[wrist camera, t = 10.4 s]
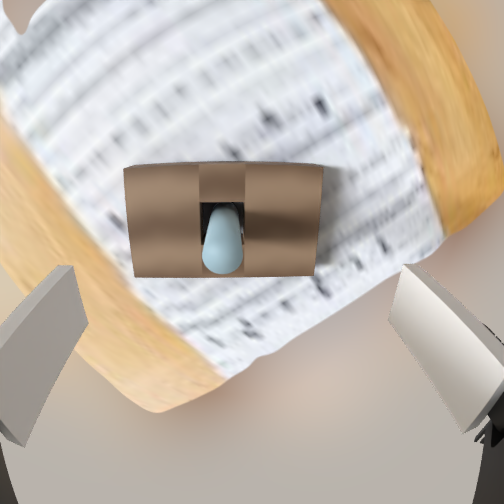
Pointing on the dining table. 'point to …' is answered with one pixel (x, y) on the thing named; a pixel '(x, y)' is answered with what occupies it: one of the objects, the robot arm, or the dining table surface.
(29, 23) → the dining table surface
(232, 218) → the peg
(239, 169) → the hole block
